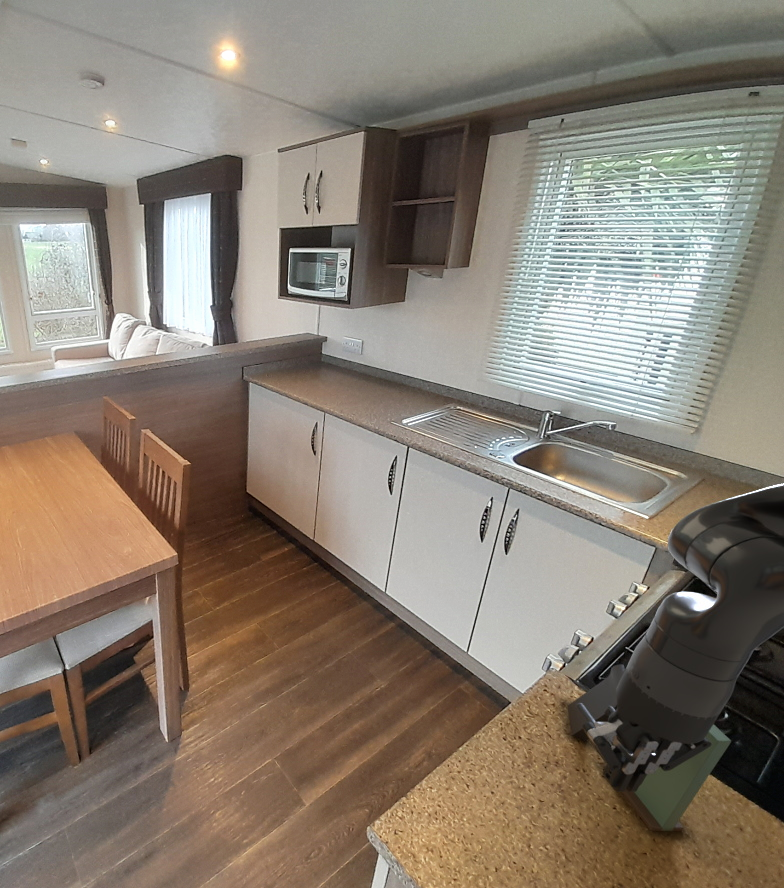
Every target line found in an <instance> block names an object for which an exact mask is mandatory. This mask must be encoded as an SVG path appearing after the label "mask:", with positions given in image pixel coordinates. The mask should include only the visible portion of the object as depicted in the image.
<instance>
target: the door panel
mask: <svg viewBox="0 0 784 888" xmlns="http://www.w3.org/2000/svg"><path fill="white" fill-rule="evenodd" d="M607 723H608V722H595V727H599V726H602V725H605V724H607ZM706 738H707V739H708V740H709V741H710V742H711V744H712V745H711V746H710V747H709V748H707V749H705V750H704V751H702V752H700V753H699V754H697V755H695V756H694V757H692V758H690V759H688V760H687V761H685V762H683V763H682V764H680V765H678V766H677V767H675V768H673V769H671V770H669V771H664V770H663V769H662V768H661V767H658V768H657V770H656V772H655V773H653V774H647V776H646V777H645V779H644V781H643V783H642V784H641V785H640V786H639V788H638V789H637V791H636V792H629V791H627V790H626V789H625V791H624V792H621V793H622V795H623V797H624V798H625V799H626V800H627V802H629V804H630V805H631V807H632V808H633V809H634V811H635V812H636V814H637V815H638V816H639V818H640V819H641V820H642V821H643V822H644V824H645V825H646V826H647V828H648V829H649V830H650V831H651V832H665V831H666V832H682V831H683V830H684V826H683V825H682V823H680V820H681V818H682V817H683V815H684V814H685V812H686V811H687V809H688V808H689V807H690V805H691V803H692V801H693V800H694V798H695V797H696V795H697V794H698V792H699V791H700V790H701V788H702V786H703V785H704V783H705V781H707V779H708V777H709V776H710V775H711V773H712V771H713V770H714V768H715V767H716V766H717V764H718V762H719V761H720V759H721V758H722V757H723V755H724V753H725V752H726V751H727V749H728V747H729V746H730V744H731V743H732V740H731V739H730V737H728V736H727V735H725V733H724V732H723V731H722V730H720V728H718V727H717V726H716V725H715V723H714V724H713V726H712V727H711V729H710V731H709V732H708V734H707V735H706ZM683 745H684V744H683ZM674 753H675V752H674ZM674 753H673V755H674ZM622 754H623V753H622ZM623 755H624V754H623ZM624 756H625V755H624ZM606 765H607V764H603V766H602V769H603V771H604V770H605V767H606Z"/></svg>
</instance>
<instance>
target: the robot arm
mask: <svg viewBox="0 0 784 888" xmlns="http://www.w3.org/2000/svg"><path fill="white" fill-rule="evenodd" d="M667 548H668V552H669V553H670V555H671V556H672V558H674V560H676V562H678V564H680V565H681V566H682V567H684V568H685V569H686V570H688V571H689V572H690V573H692V574H693V575H694V576H695V577H697V578H698V579H700V580H701V581H702V582H703V583H705V584H706V585H707V586H709V588H711V589H712V590H714V591H715V592H716V593H717V595H716V597H714V596H710V595H708V594H703V593H699V592H694V591H676V592H673V593H670V594H669V595H667V596H666V597H665V598H664V599H663V600H662V602H661V603H660V605H659V606H658V608H657V610H656V612H655V615H654V617H653V619H652V621H651V623H650V624H649V627H648V629H647V631H646V633H645V634H644V636H643V637H642V639H641V640H640V641H639V643H638V644H637V645H636V646H635V648H634V650H633V652H632V654H631V657H630V658H629V661H628V663H627V664H626V668H625V671H624V673H623V675H622V677H621V680H620V682H619V684H618V686H617V688H616V699H617V706H618V708H617V710H616V711H615V712H613V713H612V714H611V715H610V716H609V718H608V723H607V724H605V725H602V726H599V727H595V726H594V724H593V723H591V722H587V723H585V724H583V726H582V728H583V729H584V731H585V733H586V734H587V736H588V738H589V739H588V741H589V742H590V743H591V745H592V746H593V748H594V750H595V751H596V752H597V754H598V756H599V757H600V758H601V759H602V760H603V762H604V763H605V765H606V767H605V770H604V769H603V770H602V776H603V778H605V780H606V781H607V782H608V784H609V785H610V787H612V789H613V790H614V792H617V793H619V792H621V793H622V792H624V791H625V789H626V790H627V791H629V792H636V791H637V789H638V788H639V786H640V785H641V784H642V783H643V781H644V779H645V777H646V776H647V774H653V773H655V772H656V770H657V768H658V767H661V768H662V769H663V770H664V771H669V770H671V769H673V768H675V767H677V766H678V765H680V764H682V763H683V762H685V761H687V760H688V759H690V758H692V757H694V756H695V755H697V754H699V753H700V752H702V751H704V750H705V749H707V748H709V747H710V746H711V745H712V744H711V742H710V741H709V740H708V739H707V738H706V735H707V734H708V732H709V731H710V729H711V727H712V726H713V724H714V725H715V722H716V721H717V719H718V717H719V716H720V714H721V713H722V711H723V710H724V708H725V706H727V703H728V702H729V700H730V699H731V697H732V694H733V692H734V690H735V686H736V682H737V680H738V678H739V676H740V675H741V673H742V671H743V670H744V669H745V667H746V665H747V663H748V662H749V660H750V658H751V657H752V654H753V653H754V651H755V650H756V649H757V648H758V647H759V646H760V645H762V644H763V643H764V642H766V641H767V640H769V639H770V638H772V637H773V636H774V635H776V634H777V633H779V632H780V631H781V630H782V629H784V482H783V483H779V484H774V485H771V486H767V487H764V488H761V489H758V490H754V491H751V492H747V493H744V494H741V495H736V496H733V497H730V498H726V499H723V500H720V501H715V502H713V503H710V504H707V505H704V506H702V507H700V508H698V509H695V510H693V511H691V512H690V513H688V514H686V515H685V516H683V518H681V519H680V520H679V521H677V523H676V524H675V525H674V527H673V528H672V529H671V530H670V533H669V535H668V538H667ZM683 744H684V745H683ZM674 752H675V753H674ZM622 753H623V754H624V755H625V756H624V755H623V754H622ZM673 753H674V755H673Z"/></svg>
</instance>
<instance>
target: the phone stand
mask: <svg viewBox="0 0 784 888" xmlns="http://www.w3.org/2000/svg"><path fill="white" fill-rule="evenodd" d="M625 669H626V668H625V665H624V664H616V665H614V666H612V667H611V669H610V672H609V675H608V676H607V677H606V678H604V679H603V680H601V681H600V682H598V684H596V685H595V686H593V687H591V688H590V689H589V690H587V691H586V692H584V693H583V694H582V695H580V696H579V697H577V698H576V699H575V700H573V701H572V702H570V703H569V704H567V711H568V718H569V719H568V720H569V728H570V734H571V737H573V738H575V739H578V740H581V741H584V742H588V741H589V738H588V736H587V734H586V733H585V731H584V729H583V728H582V726H583V724H585V723H587V721H586V719H585V718H584V717H583V715H582V714H581V712H580V711H579V710H578V708H577V704H578V703H582V704H583V705H584V706H585V707H586V709H587V710H588V711H589V713H590V714H591V715H592V717H593V718H594V720H595V721H596V722H608V718H609V716H607V715H605V713H604V711H605V710H606V708H607V707H608V706H612V707H613V708H614V709H615V710H617V708H618V706H617V699H616V688H617V686H618V684H619V682H620V680H621V677H622V675H623V673H624V671H625Z"/></svg>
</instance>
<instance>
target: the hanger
mask: <svg viewBox="0 0 784 888" xmlns="http://www.w3.org/2000/svg"><path fill="white" fill-rule="evenodd" d="M577 708H578V710H579V711H580V712H581V714H582V715H583V717H584V718H585V719H586V721H587V722H591V723H593V724H594V726H595V722H596V721H595V720H594V718H593V717H592V715H591V714H590V713H589V711H588V710H587V709H586V707H585V706H584V705H583V704H582V703H578V704H577ZM615 711H616V710H615V709H614V708H613V707H612V706H608V707H607V708H606V710H605V711H604V713H605V715H607V716H610V715H611V714H612V713H613V712H615Z"/></svg>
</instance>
